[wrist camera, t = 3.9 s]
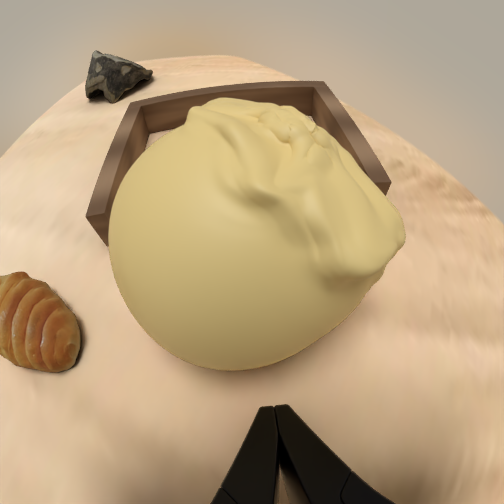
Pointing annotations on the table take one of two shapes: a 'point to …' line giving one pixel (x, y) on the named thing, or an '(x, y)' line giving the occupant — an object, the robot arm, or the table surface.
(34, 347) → the pastry
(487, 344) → the table surface
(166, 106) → the frame
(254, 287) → the sculpture
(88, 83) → the fossil
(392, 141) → the table surface
